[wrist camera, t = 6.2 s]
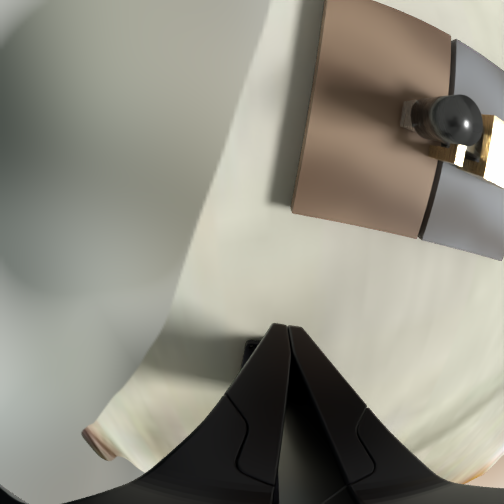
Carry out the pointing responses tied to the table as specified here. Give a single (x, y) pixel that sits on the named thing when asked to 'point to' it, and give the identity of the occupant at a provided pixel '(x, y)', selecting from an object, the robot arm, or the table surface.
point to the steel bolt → (446, 121)
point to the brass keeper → (491, 159)
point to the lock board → (394, 131)
